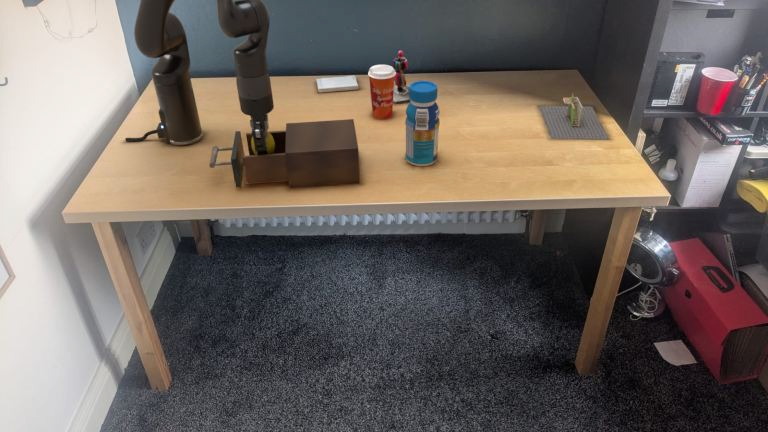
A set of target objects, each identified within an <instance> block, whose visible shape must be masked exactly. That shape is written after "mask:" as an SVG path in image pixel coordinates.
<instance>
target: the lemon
mask: <svg viewBox="0 0 768 432" xmlns="http://www.w3.org/2000/svg"><path fill="white" fill-rule="evenodd" d="M269 132H270V131H268V138H267V139H266V143H267V153H268V154H273V153H274V150H275V142H274V139H273V137H272V135H271V134H270V133H269ZM264 135H265V133H264ZM258 144H262V143H258ZM251 146H252V150H253V152H254V154H255V155H258V152H257V151H255V145H254V140H253V137H252V140H251Z"/></svg>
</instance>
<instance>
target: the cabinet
mask: <svg viewBox="0 0 768 432" xmlns="http://www.w3.org/2000/svg"><path fill="white" fill-rule="evenodd" d="M285 131H286V146H285V155H286V163H287V171H288V179H289V181H288V186H289V189H290V190H291V189H302V188H303V189H304V188H305V189H306V188H313V187H314V188H317V187H319V188H320V187H330V186H331V187H332V186H342V185H343V186H345V185H357V184H361V180H360V179H361V178H360V157H359V153H360V152H359V145H358V139H357V132H356V131H357V130H356V125H355V120H354V118H350V119H349V118H348V119H335V120H334V119H333V120H322V121H321V120H319V121H317V120H316V121H303V122H302V121H301V122H287V123H285Z"/></svg>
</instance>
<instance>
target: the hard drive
mask: <svg viewBox="0 0 768 432" xmlns="http://www.w3.org/2000/svg"><path fill="white" fill-rule="evenodd" d="M315 79H316V81H315V82H316V86H317V92H318V93H319V94H321V93H331V92H343V91H344V92H345V91H356V90H359V84H358V81H357V78H356V76H355V75H346V76H332V77H320V78H319V77H318V78H315Z"/></svg>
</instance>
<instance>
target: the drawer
mask: <svg viewBox="0 0 768 432" xmlns="http://www.w3.org/2000/svg"><path fill="white" fill-rule="evenodd" d="M268 132H269V133H270V134H271V135H272V137H273V139H274V142H275V150H274V153H273V154H264V155H255V154H254V152H253V150H252V146H251V140H252V137H253V135H252V132H246V133H245V139H246V143H247V149H248V155H246V154H245V151H244V150H245V149H244V144H243V138H242V131H241V130H236V131H235V133H234V138H233V145H232V146H229V147H228V146H226V147H218V146H213V147H212V151H211V154H210V159H209V164H208V166H209V168H211V169H215V167H217V166H231V168H232V172H233V179H234V184H235V188H236V189H239V188H242V184H243V177H244V173H245V179H246V184H247V185H252V184H266V183H279V182H281V183H282V182H289V179H288V171H287V163H286V155H285V146H286V130H272V131H268ZM225 151H226V152H227V151H231V155H230V161H217V160H218V155H219V152H225Z"/></svg>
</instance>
